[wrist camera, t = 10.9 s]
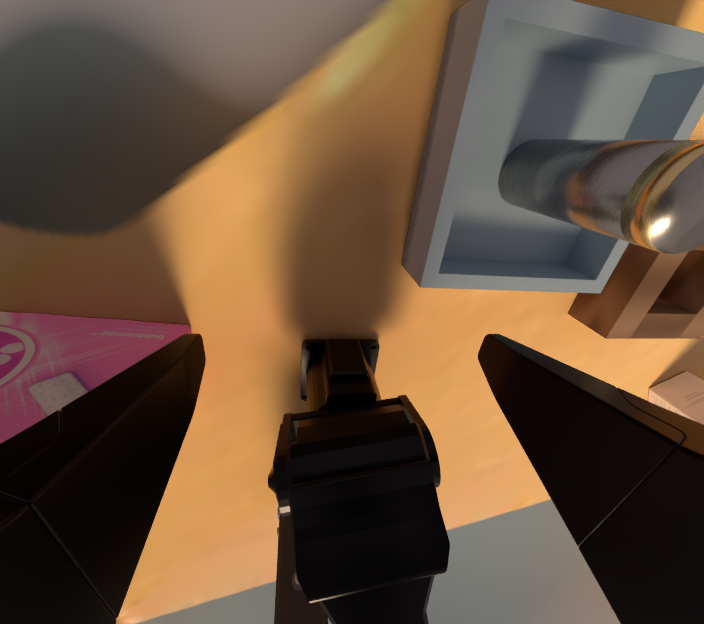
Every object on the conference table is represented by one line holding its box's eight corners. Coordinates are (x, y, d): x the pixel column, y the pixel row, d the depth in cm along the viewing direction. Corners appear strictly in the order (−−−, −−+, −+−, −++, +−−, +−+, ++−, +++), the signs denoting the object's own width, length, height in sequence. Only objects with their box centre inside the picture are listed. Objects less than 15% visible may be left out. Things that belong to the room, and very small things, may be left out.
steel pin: (541, 208, 21) (707, 257, 12) (489, 203, 20) (629, 252, 12) (567, 142, 19) (785, 147, 11) (511, 134, 18) (697, 132, 10)
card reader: (279, 454, 31) (265, 672, 19) (317, 450, 32) (330, 658, 19) (284, 502, 36) (277, 703, 23) (318, 497, 37) (329, 691, 24)
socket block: (653, 315, 30) (699, 338, 26) (567, 313, 28) (605, 338, 24) (725, 211, 25) (794, 222, 21) (627, 200, 23) (685, 211, 19)
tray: (559, 272, 25) (600, 293, 22) (401, 264, 23) (420, 287, 19) (660, 60, 18) (742, 42, 15) (451, 14, 16) (493, -20, 12)
